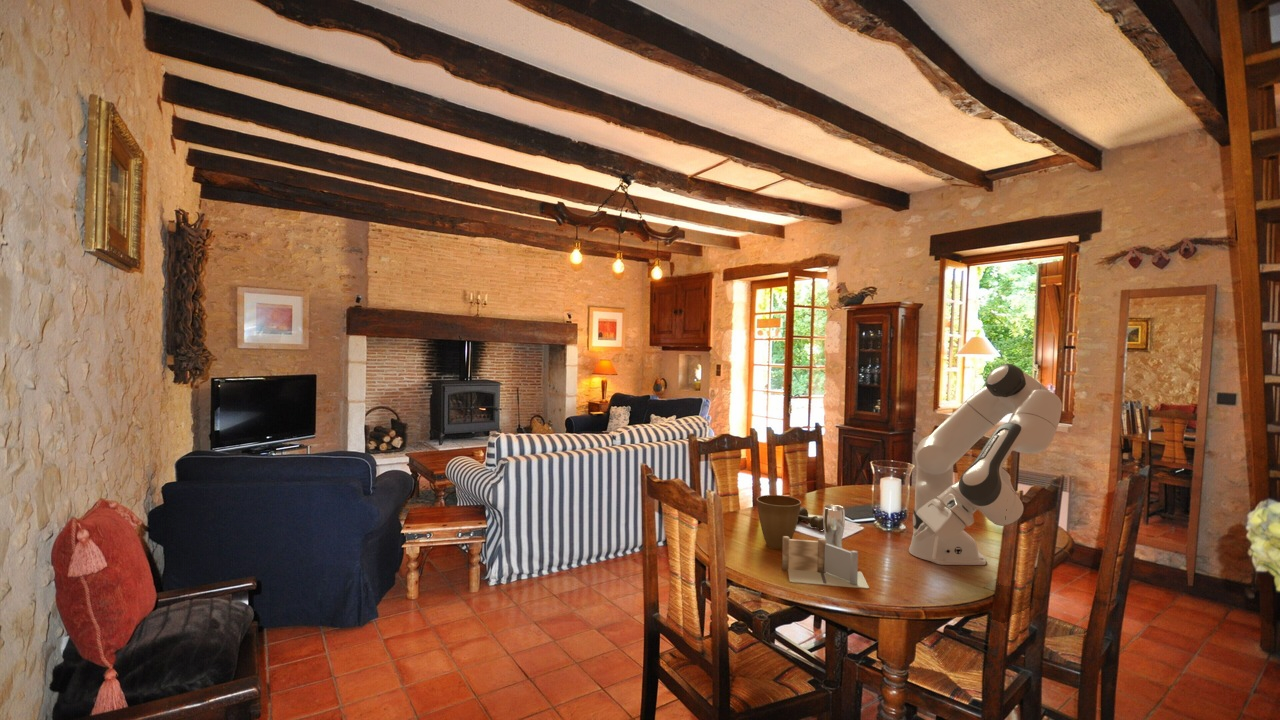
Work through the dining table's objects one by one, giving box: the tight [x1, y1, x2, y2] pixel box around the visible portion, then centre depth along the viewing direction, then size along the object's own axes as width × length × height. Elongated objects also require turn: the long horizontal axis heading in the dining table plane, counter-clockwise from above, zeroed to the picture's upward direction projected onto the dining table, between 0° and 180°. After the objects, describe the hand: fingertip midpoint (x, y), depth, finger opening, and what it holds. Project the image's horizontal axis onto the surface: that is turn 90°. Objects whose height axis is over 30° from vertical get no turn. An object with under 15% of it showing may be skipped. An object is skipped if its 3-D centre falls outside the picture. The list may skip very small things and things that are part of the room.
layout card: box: [787, 569, 870, 590], centre depth 175 cm, size 22×12×1 cm, turn 79°
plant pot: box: [756, 494, 802, 550], centre depth 202 cm, size 15×15×16 cm
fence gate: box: [824, 543, 859, 585], centre depth 173 cm, size 11×2×9 cm, turn 34°
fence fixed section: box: [781, 536, 826, 572], centre depth 180 cm, size 13×2×10 cm, turn 79°
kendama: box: [798, 506, 824, 531], centre depth 226 cm, size 6×10×20 cm
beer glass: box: [822, 504, 846, 549], centre depth 196 cm, size 7×7×15 cm
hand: (916, 537), depth 166 cm, fingers closed
